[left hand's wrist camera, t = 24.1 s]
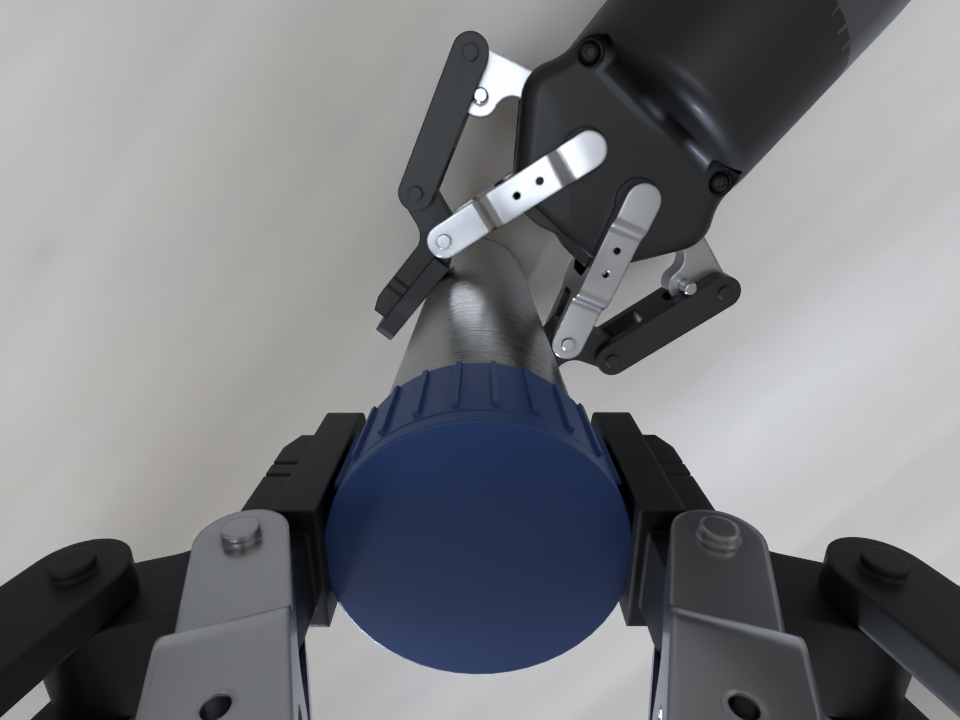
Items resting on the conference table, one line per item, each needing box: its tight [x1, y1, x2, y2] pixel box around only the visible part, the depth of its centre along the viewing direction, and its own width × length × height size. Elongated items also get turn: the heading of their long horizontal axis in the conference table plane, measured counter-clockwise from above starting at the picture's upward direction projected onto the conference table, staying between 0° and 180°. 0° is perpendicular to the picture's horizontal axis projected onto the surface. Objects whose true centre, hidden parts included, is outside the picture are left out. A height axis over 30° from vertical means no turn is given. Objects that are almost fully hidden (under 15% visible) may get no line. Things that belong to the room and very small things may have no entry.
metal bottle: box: [389, 239, 569, 396], centre depth 19 cm, size 4×4×20 cm
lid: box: [325, 361, 632, 674], centre depth 10 cm, size 5×5×2 cm
